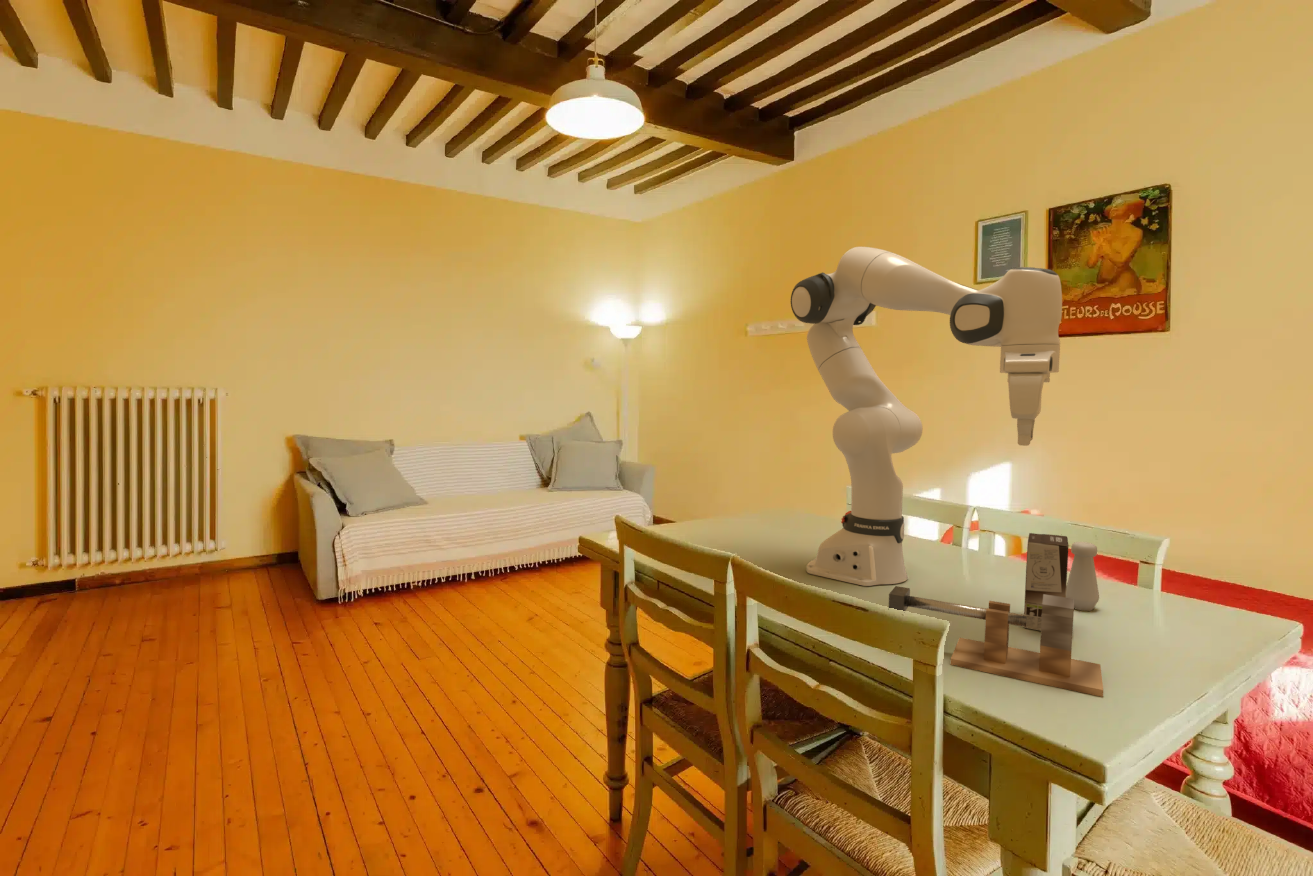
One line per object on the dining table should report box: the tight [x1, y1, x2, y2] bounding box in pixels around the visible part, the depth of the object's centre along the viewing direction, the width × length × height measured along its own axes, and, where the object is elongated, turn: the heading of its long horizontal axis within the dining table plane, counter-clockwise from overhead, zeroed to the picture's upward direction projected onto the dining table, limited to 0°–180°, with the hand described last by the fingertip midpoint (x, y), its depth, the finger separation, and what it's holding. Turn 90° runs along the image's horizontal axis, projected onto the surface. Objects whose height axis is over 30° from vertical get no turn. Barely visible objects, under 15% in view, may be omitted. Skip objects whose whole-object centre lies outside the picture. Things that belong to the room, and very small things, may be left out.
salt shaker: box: [1066, 541, 1100, 612], centre depth 128 cm, size 6×6×13 cm
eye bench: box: [950, 594, 1104, 698], centre depth 102 cm, size 20×10×11 cm, turn 58°
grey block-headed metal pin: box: [888, 585, 1027, 628], centre depth 107 cm, size 20×5×3 cm, turn 58°
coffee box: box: [1023, 532, 1070, 632], centre depth 120 cm, size 9×6×16 cm
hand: (1025, 442), depth 113 cm, fingers open, 8 cm apart
